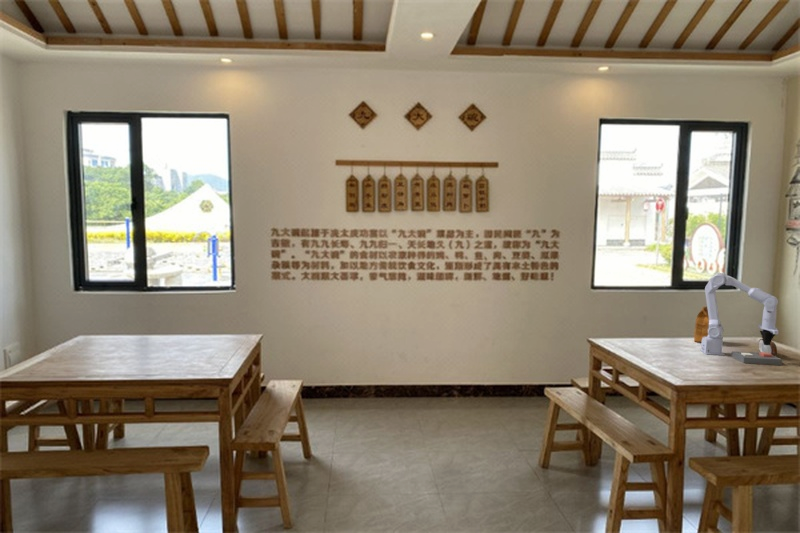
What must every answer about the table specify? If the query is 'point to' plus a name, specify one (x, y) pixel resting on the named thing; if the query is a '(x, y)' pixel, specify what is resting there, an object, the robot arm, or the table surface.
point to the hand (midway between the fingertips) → (766, 345)
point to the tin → (768, 347)
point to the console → (756, 358)
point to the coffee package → (701, 325)
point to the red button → (765, 354)
